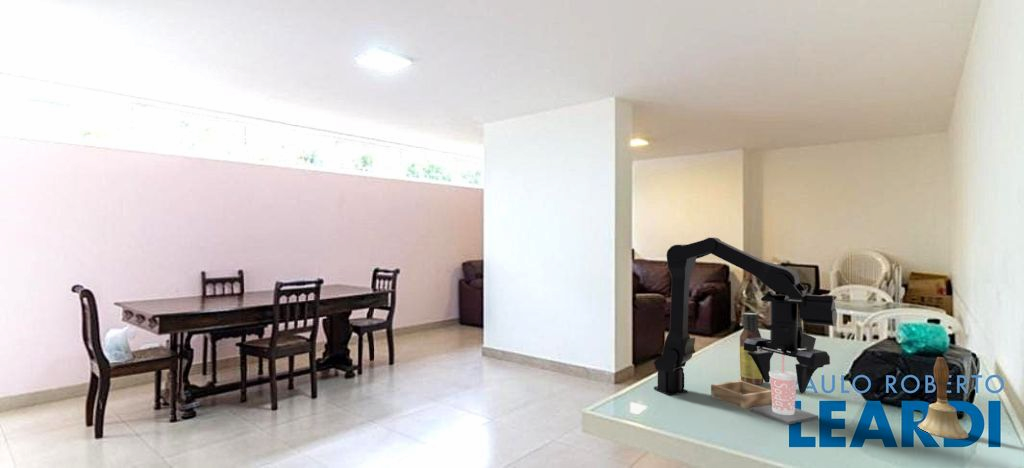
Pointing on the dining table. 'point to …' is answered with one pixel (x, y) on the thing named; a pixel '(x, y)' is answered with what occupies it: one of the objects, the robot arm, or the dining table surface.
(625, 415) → the dining table surface
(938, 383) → the hand bell
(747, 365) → the sauce bottle
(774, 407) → the beverage cup
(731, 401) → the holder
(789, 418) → the coaster
